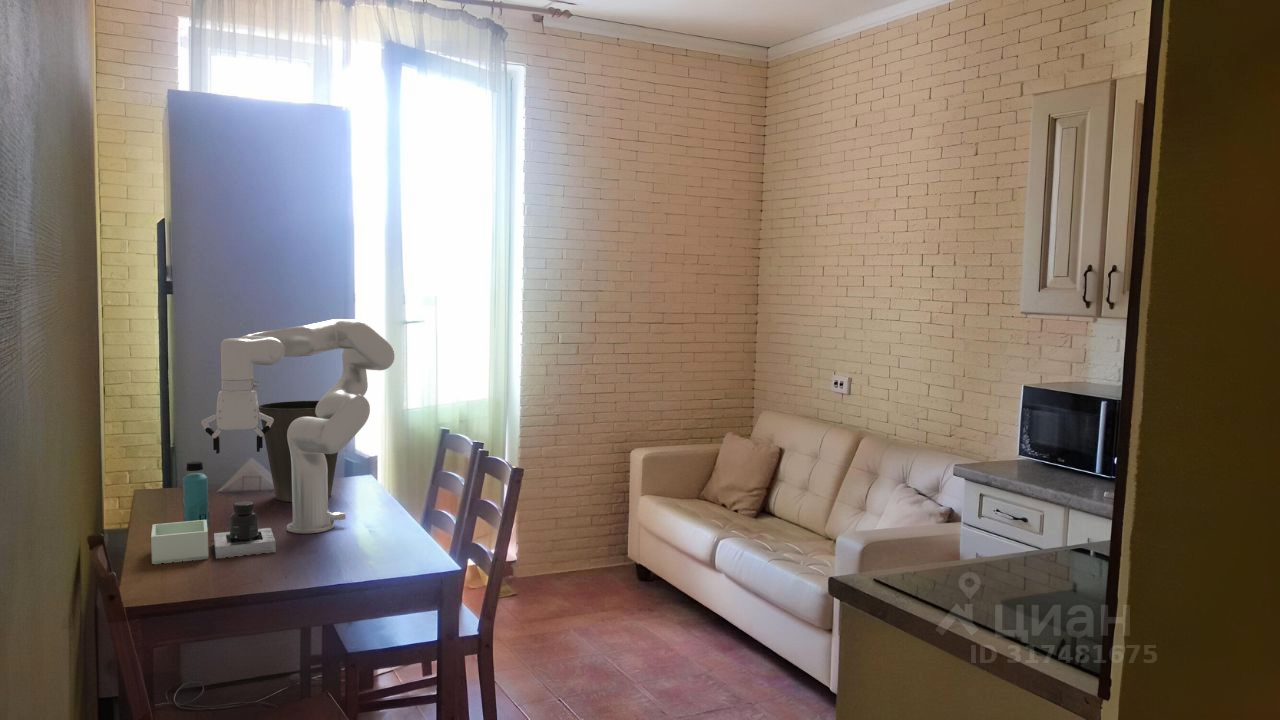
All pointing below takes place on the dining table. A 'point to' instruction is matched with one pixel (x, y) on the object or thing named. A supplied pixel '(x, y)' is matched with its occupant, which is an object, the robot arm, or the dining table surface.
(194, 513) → the beverage bottle
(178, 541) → the bin
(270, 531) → the socket block
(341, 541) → the dining table surface
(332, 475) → the waste basket
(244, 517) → the supplement bottle
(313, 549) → the dining table surface
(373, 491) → the dining table surface
